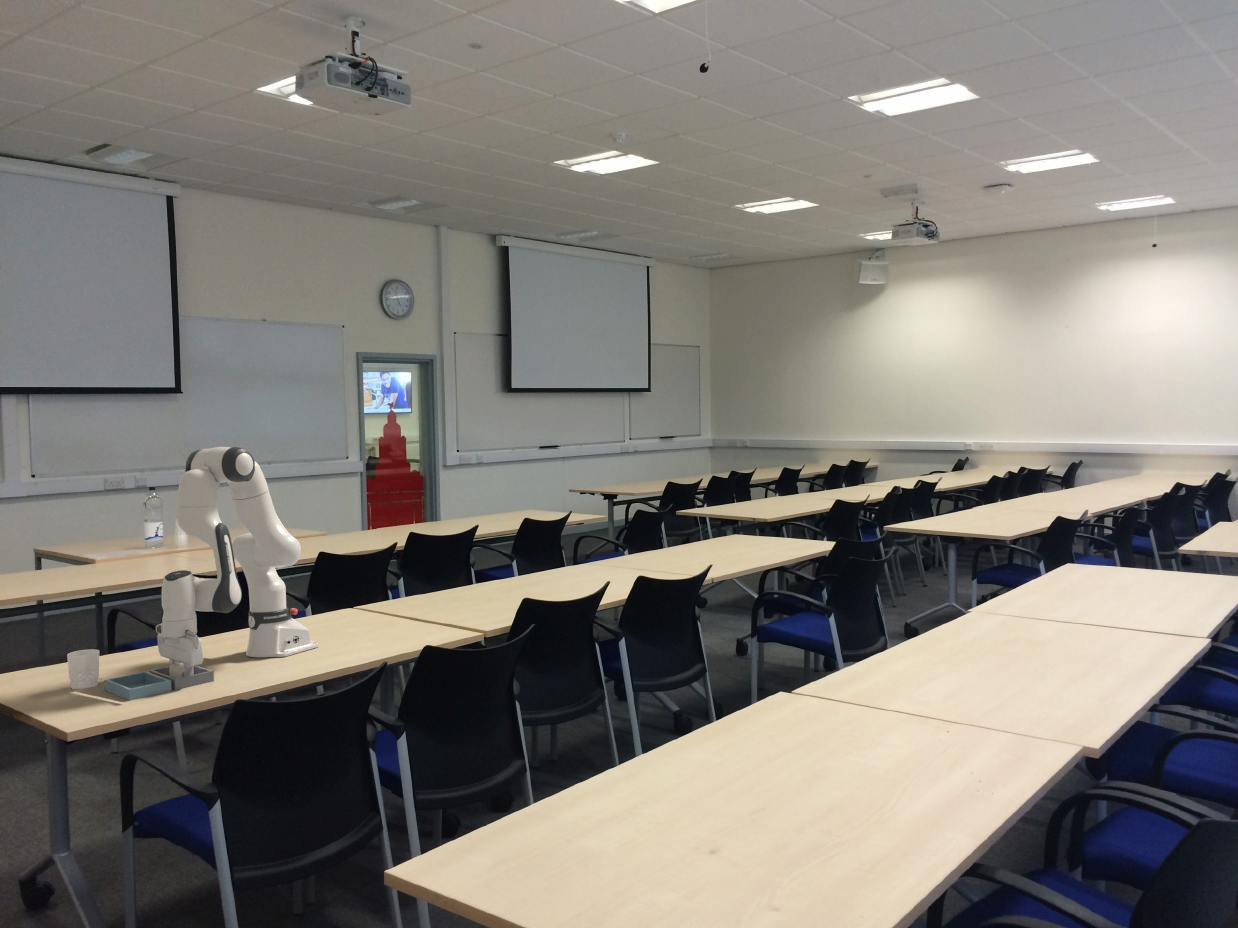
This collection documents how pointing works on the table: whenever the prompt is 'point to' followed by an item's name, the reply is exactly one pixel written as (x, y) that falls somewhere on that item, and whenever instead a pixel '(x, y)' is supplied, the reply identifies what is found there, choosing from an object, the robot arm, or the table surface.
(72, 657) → the white cup
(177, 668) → the white cube
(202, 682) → the tray
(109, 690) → the bin
